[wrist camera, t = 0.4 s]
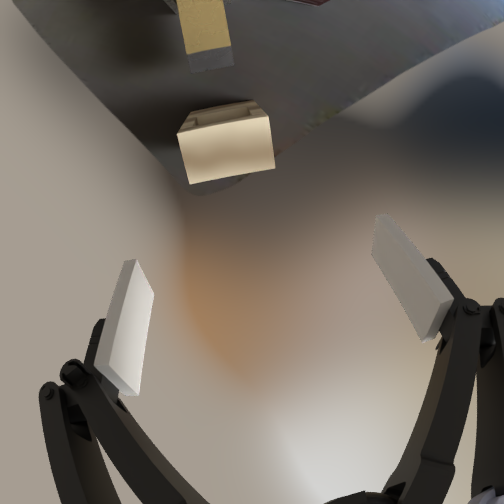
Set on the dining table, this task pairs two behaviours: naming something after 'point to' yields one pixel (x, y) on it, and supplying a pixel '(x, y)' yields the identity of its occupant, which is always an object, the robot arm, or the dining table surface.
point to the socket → (226, 141)
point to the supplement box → (311, 2)
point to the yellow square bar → (205, 34)
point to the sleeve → (172, 3)
